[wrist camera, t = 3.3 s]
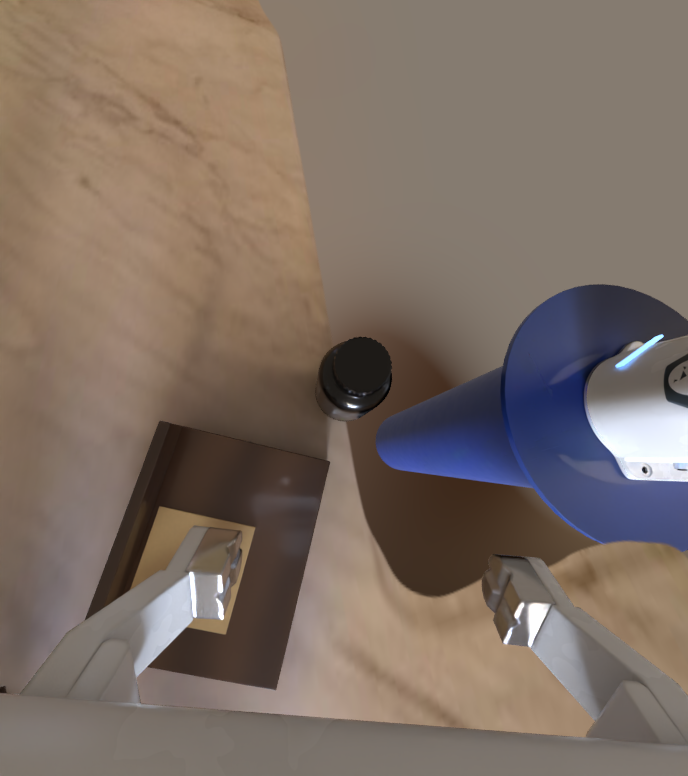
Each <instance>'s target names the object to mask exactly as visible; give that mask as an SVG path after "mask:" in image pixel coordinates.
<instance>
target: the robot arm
mask: <svg viewBox="0 0 688 776" xmlns="http://www.w3.org/2000/svg"><path fill="white" fill-rule="evenodd" d="M662 337H664V336H663V335H659V336H656V337H654V338H653V339H652V340H650V341H649V342H647V343H646V344H643V343H641V342H638V341H635V342H631V343H627V344H626V345H625V346H624V347H623V348H622V349H621V350H620V351H619V353H618V354H616V355H615V356H612V357H610V358H607V359H605V360H603V361H601V362H600V363H598V364H597V365H596V366H595V367H594V368H593V369H592V371H591V372H590V374H589V376H588V378H587V381H586V384H585V389H584V406H585V411H586V415H587V418H588V421H589V423H590V426H591V428H592V429H593V431H594V433H595V434H596V436H597V437H598V439H599V440H600V441H601V442H602V443H603V445H604V446H605V447H606V448H607V449H608V450H609V451H610V452H611V453H612V454H613V455H614V457H615V458H616V461H617V463H618V465H619V467H620V469H621V471H622V472H623V474H624V475H625V476H626V477H627V478H628V479H631V480H653V481H683V482H688V336H683V337H679V338H675V339H671V340H667V341H663V342H659V343H655V342H657V341H658V340H659V339H661V338H662ZM654 343H655V344H654ZM241 542H242V531H239V530H231V529H222V528H214V527H203V526H195V525H194V526H193V527H192V528H191V529H190V530H189V532H188V533H187V535H186V537H185V538H184V540H183V542H182V543H181V545H180V546H179V548H178V550H177V551H176V553H175V555H174V556H173V558H172V560H171V561H170V563H169V565H168V566H167V568H166V570H159V571H158V572H156V573H155V574H153V575H152V576H150V577H149V578H147V579H146V580H144V581H143V582H141V583H140V584H138V585H137V586H135V587H134V588H132V589H131V590H130V591H128V592H127V593H125V594H124V595H122V596H121V597H119V598H118V599H116V600H115V601H113V602H112V603H110V604H109V605H107V606H106V607H104V608H103V609H101V610H100V611H98V612H97V613H95V614H94V615H92V616H91V617H89V618H88V619H86V620H85V621H84V622H82V623H81V624H79V625H78V626H76V627H75V628H73V629H72V630H70V631H69V632H67V633H66V635H65V636H64V637H63V639H62V640H61V641H60V642H59V644H58V645H57V646H56V648H55V649H54V650H53V651H52V653H51V654H50V655H49V657H48V658H47V659H46V661H45V662H44V663H43V664H42V666H41V667H40V668H39V670H38V671H37V672H36V673H35V675H34V676H33V677H32V679H31V680H30V681H29V682H28V684H27V685H26V686H25V688H24V689H23V690H22V691H21V693H20V694H6V693H0V776H688V696H687V694H686V693H685V692H684V691H683V689H682V688H681V687H680V686H679V684H678V683H676V682H675V681H674V680H673V679H671V678H670V677H669V676H667V675H666V674H665V673H663V672H662V671H661V670H660V669H658V668H657V667H656V666H654V665H653V664H652V663H651V662H649V661H648V660H647V659H645V658H644V657H643V656H641V655H640V654H639V653H638V652H636V651H635V650H634V649H632V648H631V647H630V646H629V645H627V644H626V643H625V642H623V641H622V640H621V639H619V638H618V637H617V636H616V635H614V634H613V633H612V632H610V631H609V630H608V629H607V628H605V627H604V626H603V625H601V624H600V623H599V622H598V621H596V620H595V619H594V618H592V617H591V616H590V615H588V614H587V613H586V612H585V611H583V610H582V609H581V608H579V607H574V605H573V604H572V602H571V601H570V600H569V598H568V597H567V595H566V594H565V592H564V591H563V589H562V588H561V586H560V585H559V583H558V582H557V580H556V579H555V577H554V576H553V575H552V573H551V572H550V570H549V569H548V567H547V566H546V564H545V563H544V562H543V561H542V560H541V559H540V558H533V557H521V556H510V555H498V554H493V555H492V556H491V557H490V558H489V561H488V564H489V566H490V569H489V570H487V571H486V572H485V573H484V575H483V578H482V592H483V597H484V599H485V602H486V604H487V606H488V607H489V608H490V609H491V610H492V611H493V612H494V613H495V615H494V619H493V621H494V624H495V626H496V628H497V631H498V633H499V635H500V638H501V640H502V643H503V644H510V645H519V646H527V647H531V649H532V650H533V652H534V653H535V654H536V655H537V656H538V657H539V658H540V659H541V661H542V662H543V663H544V664H545V665H546V666H547V667H548V668H549V670H550V671H551V672H552V673H553V674H554V675H555V676H556V677H557V679H558V680H559V681H560V682H561V683H562V684H563V685H564V687H565V688H566V689H567V690H568V691H569V692H570V693H571V694H572V696H573V697H574V698H575V699H576V700H577V701H578V702H579V703H580V705H581V706H582V707H583V708H584V709H585V710H586V711H587V713H588V714H589V715H590V716H591V717H592V718H593V719H594V720H595V722H594V723H593V725H592V726H591V728H590V729H589V730H588V732H587V734H586V737H572V736H558V735H545V734H532V733H519V732H506V731H493V730H480V729H467V728H454V727H441V726H428V725H415V724H401V723H388V722H375V721H361V720H348V719H335V718H321V717H308V716H295V715H282V714H269V713H255V712H242V711H229V710H216V709H202V708H189V707H176V706H163V705H150V704H141V702H140V696H139V691H138V685H137V680H136V677H137V676H138V675H139V674H140V673H141V672H142V671H143V670H144V669H145V668H146V667H147V666H148V665H149V664H150V663H151V662H152V661H153V660H154V659H155V658H156V657H157V656H158V655H159V654H160V653H161V652H162V651H163V650H164V649H165V648H166V647H167V646H168V645H169V644H170V643H171V642H172V641H173V640H174V639H175V638H176V637H177V636H178V635H179V634H180V633H181V632H182V631H183V630H184V629H185V628H186V627H187V626H188V625H189V624H190V623H191V622H192V621H193V618H198V619H217V620H223V618H224V615H225V613H226V610H227V607H228V604H229V602H230V599H231V587H232V586H233V585H235V584H236V582H237V579H238V576H239V572H240V568H241V563H242V549H241V548H240V545H241Z"/></svg>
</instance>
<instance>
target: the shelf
mask: <svg viewBox="0 0 688 776" xmlns="http://www.w3.org/2000/svg"><path fill="white" fill-rule="evenodd" d="M329 465H330V462H329V461H325V460H321V459H317V458H313V457H309V456H304V455H300V454H296V453H292V452H288V451H284V450H280V449H275V448H271V447H267V446H263V445H259V444H255V443H250V442H246V441H242V440H238V439H234V438H230V437H225V436H221V435H217V434H213V433H209V432H205V431H200V430H196V429H192V428H188V427H184V426H180V425H176V424H172V423H168V422H164V421H159V424H158V426H157V429H156V432H155V434H154V437H153V440H152V442H151V445H150V448H149V450H148V453H147V456H146V459H145V461H144V464H143V467H142V469H141V472H140V475H139V477H138V480H137V483H136V485H135V488H134V491H133V493H132V496H131V499H130V501H129V504H128V507H127V509H126V512H125V515H124V517H123V520H122V523H121V525H120V528H119V531H118V533H117V536H116V539H115V541H114V544H113V547H112V549H111V552H110V555H109V557H108V560H107V563H106V565H105V568H104V571H103V573H102V576H101V579H100V581H99V584H98V587H97V589H96V592H95V595H94V597H93V600H92V603H91V605H90V608H89V611H88V613H87V616H86V619H88V618H89V617H91V616H92V615H94V614H95V613H97V612H98V611H100V610H101V609H103V608H104V607H106V606H107V605H109V604H110V603H112V602H113V601H115V600H116V599H118V598H119V597H121V596H122V595H124V594H125V593H127V592H128V591H130V590H131V589H132V588H134V587H135V586H137V585H138V584H140V583H141V582H143V581H144V580H146V579H147V578H149V577H150V576H152V575H153V574H155V573H156V572H158V571H159V570H166V568H167V566H168V565H169V563H170V561H171V560H172V558H173V556H174V555H175V553H176V551H177V550H178V548H179V546H180V545H181V543H182V542H183V540H184V538H185V537H186V535H187V533H188V532H189V530H190V529H191V528H192V527H193V526H194V525H195V526H203V527H214V528H222V529H231V530H239V531H242V542H241V545H240V548H241V549H242V563H241V568H240V572H239V576H238V579H237V582H236V584H235V585H233V586H232V587H231V599H230V602H229V604H228V607H227V610H226V613H225V615H224V618H223V620H217V619H198V618H193V621H192V622H191V623H190V624H189V625H188V626H187V627H186V628H185V629H184V630H183V631H182V632H181V633H180V634H179V635H178V636H177V637H176V638H175V639H174V640H173V641H172V642H171V643H170V644H169V645H168V646H167V647H166V648H165V649H164V650H163V651H162V652H161V653H160V654H159V655H158V656H157V657H156V658H155V659H154V660H153V661H152V662H151V663H150V664H149V665H148V666H147V667H150V668H156V669H161V670H167V671H172V672H178V673H183V674H189V675H194V676H200V677H205V678H211V679H216V680H222V681H227V682H233V683H238V684H244V685H249V686H255V687H260V688H266V689H271V690H276V688H277V684H278V680H279V676H280V671H281V667H282V663H283V659H284V655H285V650H286V646H287V642H288V638H289V633H290V629H291V625H292V621H293V617H294V612H295V608H296V604H297V600H298V595H299V591H300V587H301V583H302V579H303V574H304V570H305V566H306V562H307V557H308V553H309V549H310V545H311V541H312V536H313V532H314V528H315V524H316V519H317V515H318V511H319V507H320V503H321V498H322V494H323V490H324V486H325V482H326V477H327V473H328V469H329ZM86 619H85V620H86Z"/></svg>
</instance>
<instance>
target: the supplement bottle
mask: <svg viewBox="0 0 688 776" xmlns="http://www.w3.org/2000/svg"><path fill="white" fill-rule="evenodd" d="M391 363H392V362H391V360H390V356H389V355H388V351H387V350H386V349H385V347H384V346H382V344H381V343H378V342H377V341H376V340H373V339H371V338H367V337H363V338H362V337H358V338H353V339H349V340H348V341H346V342H342V343H340V344H338V345H336V346H334V347H333V348H331V349H330V350H329V351H328V352H327V353H326V355H325V356H324V358H323V360H322V362H321V364H320V368H319V372H318V377H317V382H316V388H315V395H316V400H317V403H318V405H319V407H320V408H321V410H322V411H323V412H324V413H325V414H326V415H327V416H329V417H330V418H332V419H335V420H338V421H352V420H356V419H358V418H360V417H361V416H363V415H365V414H366V413H368V412H369V411H371V410H372V409H374V408H375V407H377V406H378V405H379V404H380V403H381V402H382V401H383V400H384V399H385V397H386V396H387V394H388V393H389V390H390V387H391V382H392V373H391V369H392V366H391Z"/></svg>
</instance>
